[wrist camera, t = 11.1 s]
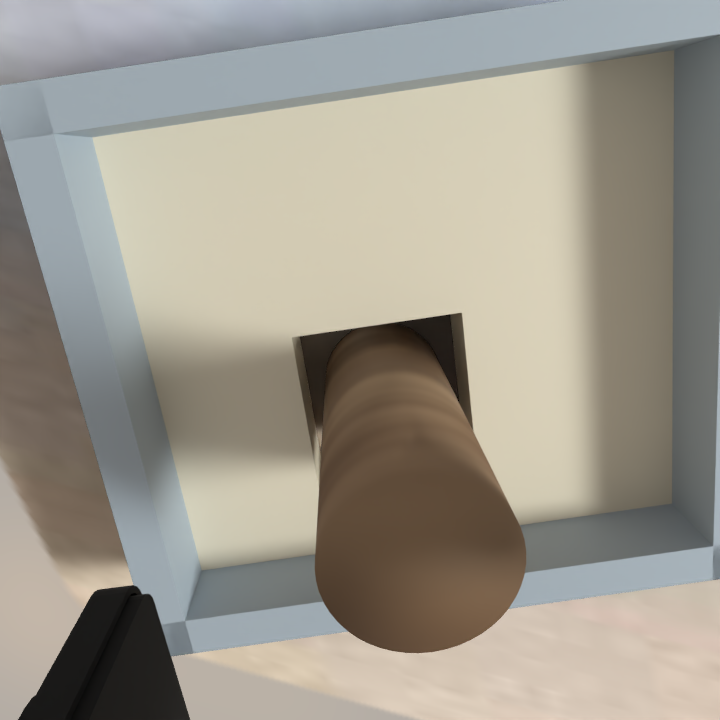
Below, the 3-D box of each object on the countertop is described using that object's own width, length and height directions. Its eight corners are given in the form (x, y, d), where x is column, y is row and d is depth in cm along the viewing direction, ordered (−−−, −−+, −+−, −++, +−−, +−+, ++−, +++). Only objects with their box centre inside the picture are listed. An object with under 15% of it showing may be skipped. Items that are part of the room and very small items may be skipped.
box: (72, 104, 20) (-13, 87, 15) (672, 14, 19) (781, -33, 15) (190, 561, 25) (155, 658, 20) (670, 493, 24) (751, 574, 20)
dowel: (317, 331, 22) (298, 487, 12) (432, 314, 22) (518, 455, 12) (335, 437, 23) (332, 666, 13) (444, 421, 23) (532, 637, 13)
